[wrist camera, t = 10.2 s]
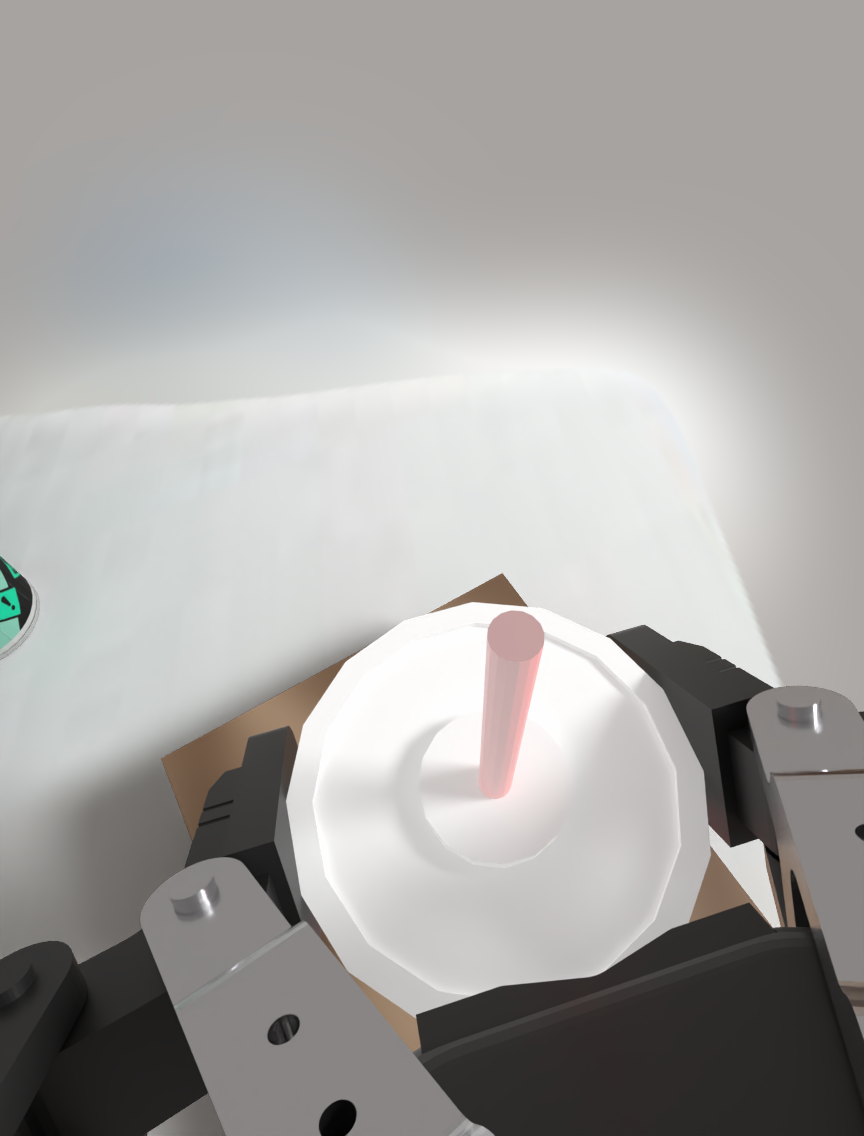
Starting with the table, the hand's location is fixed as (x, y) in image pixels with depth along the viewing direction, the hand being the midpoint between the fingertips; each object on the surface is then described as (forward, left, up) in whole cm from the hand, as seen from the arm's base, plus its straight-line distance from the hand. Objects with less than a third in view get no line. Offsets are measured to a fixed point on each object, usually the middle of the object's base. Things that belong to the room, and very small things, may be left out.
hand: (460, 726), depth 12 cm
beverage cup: (0, -2, -7) cm, 7 cm away
